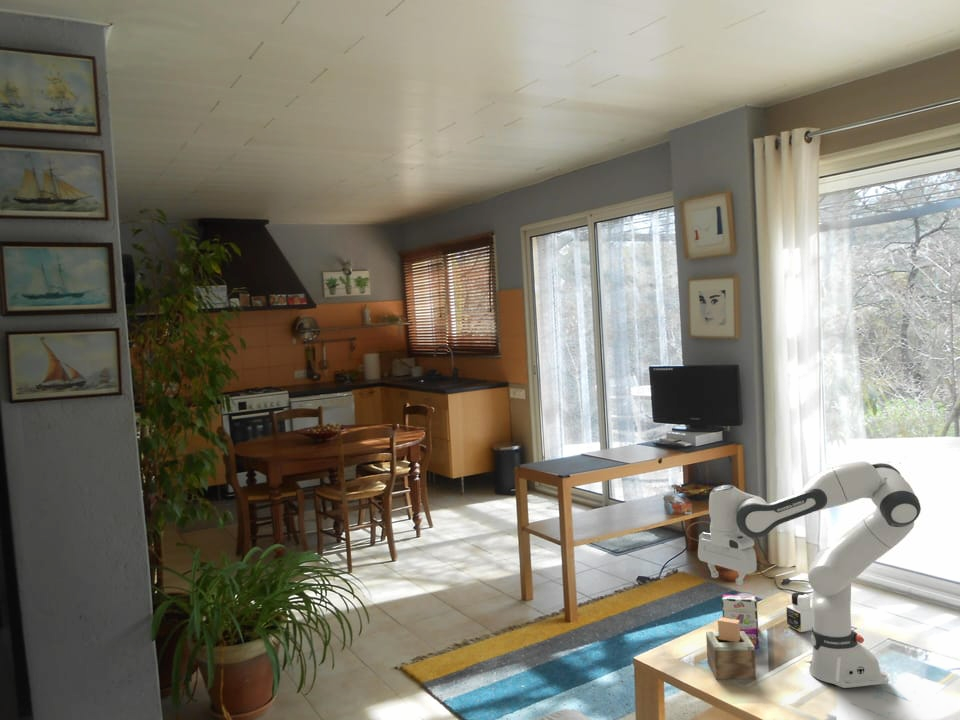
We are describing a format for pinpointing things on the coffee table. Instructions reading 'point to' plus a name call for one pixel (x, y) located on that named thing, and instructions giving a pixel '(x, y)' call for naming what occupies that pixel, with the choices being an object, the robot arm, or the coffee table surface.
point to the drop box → (731, 657)
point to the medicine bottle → (800, 612)
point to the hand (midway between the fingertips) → (727, 580)
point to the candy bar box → (742, 614)
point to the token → (729, 629)
